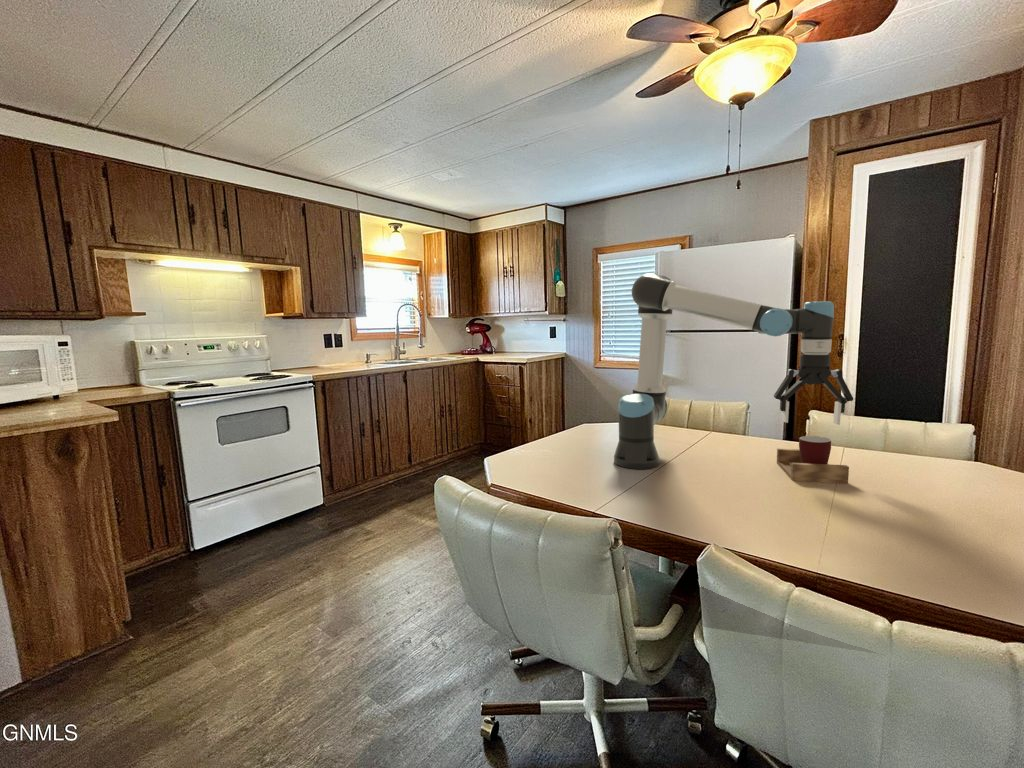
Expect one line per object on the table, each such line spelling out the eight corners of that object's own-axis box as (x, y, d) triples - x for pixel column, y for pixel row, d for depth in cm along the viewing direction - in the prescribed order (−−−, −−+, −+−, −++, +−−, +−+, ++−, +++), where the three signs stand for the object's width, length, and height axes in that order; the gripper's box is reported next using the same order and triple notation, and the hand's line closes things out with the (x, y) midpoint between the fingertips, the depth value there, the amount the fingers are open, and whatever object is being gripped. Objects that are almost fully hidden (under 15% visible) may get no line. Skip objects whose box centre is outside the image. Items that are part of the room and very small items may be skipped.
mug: (793, 464, 142) (793, 433, 141) (822, 464, 139) (822, 434, 138) (803, 474, 132) (803, 442, 131) (834, 475, 129) (835, 442, 128)
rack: (792, 480, 130) (793, 464, 129) (776, 463, 146) (777, 448, 146) (848, 483, 126) (849, 466, 125) (825, 465, 142) (826, 450, 141)
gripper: (771, 354, 131) (767, 423, 134) (871, 354, 124) (864, 427, 127) (765, 352, 139) (761, 418, 141) (859, 352, 131) (853, 421, 134)
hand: (810, 422), depth 134 cm, fingers open, 13 cm apart
